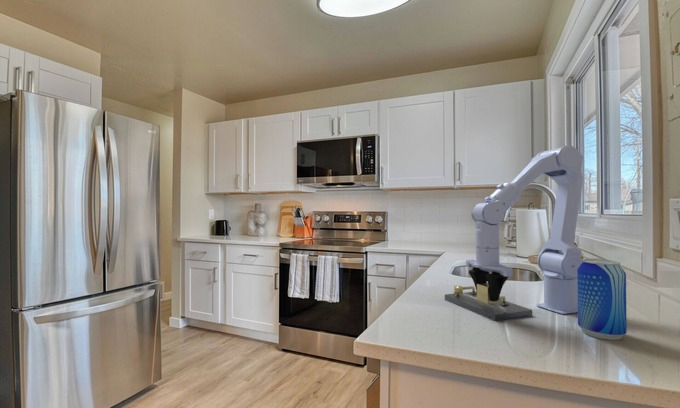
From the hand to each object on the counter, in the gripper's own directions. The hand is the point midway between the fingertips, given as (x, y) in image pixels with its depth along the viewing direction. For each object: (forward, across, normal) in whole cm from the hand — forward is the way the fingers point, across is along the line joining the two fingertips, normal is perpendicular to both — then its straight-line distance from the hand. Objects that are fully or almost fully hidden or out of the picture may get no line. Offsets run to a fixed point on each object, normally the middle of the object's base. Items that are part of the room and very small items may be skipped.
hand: (487, 298), depth 88 cm
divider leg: (+2, 0, +2) cm, 3 cm away
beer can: (+4, +20, +12) cm, 24 cm away
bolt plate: (+4, -4, +2) cm, 6 cm away
